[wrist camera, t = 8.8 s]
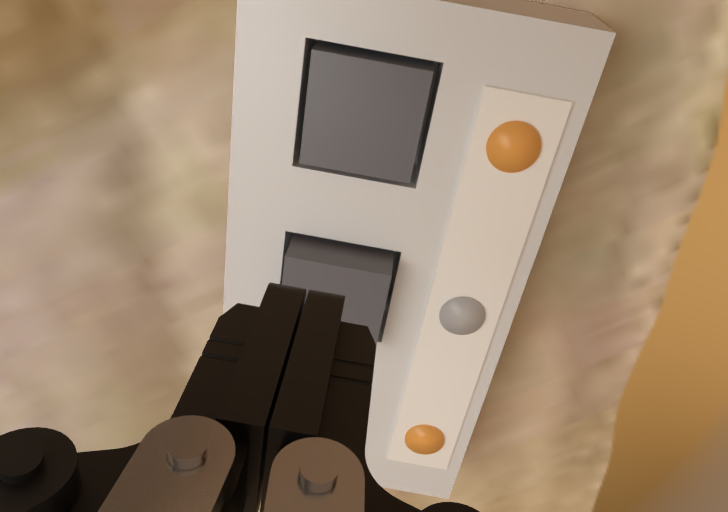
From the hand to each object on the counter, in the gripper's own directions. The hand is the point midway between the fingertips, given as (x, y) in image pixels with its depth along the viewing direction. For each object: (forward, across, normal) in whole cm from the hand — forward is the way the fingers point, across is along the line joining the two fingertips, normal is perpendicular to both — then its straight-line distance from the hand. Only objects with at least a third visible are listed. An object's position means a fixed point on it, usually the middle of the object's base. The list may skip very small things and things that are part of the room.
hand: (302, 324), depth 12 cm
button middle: (+14, 0, +8) cm, 16 cm away
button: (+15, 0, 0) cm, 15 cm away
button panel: (+17, -2, +8) cm, 19 cm away
